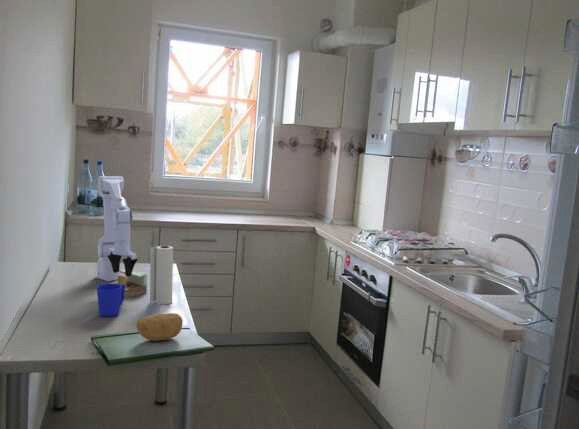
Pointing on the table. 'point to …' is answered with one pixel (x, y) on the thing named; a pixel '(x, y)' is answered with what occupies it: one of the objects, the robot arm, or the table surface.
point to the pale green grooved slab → (136, 278)
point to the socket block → (133, 289)
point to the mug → (110, 299)
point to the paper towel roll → (161, 274)
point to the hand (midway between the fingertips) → (122, 274)
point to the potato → (160, 326)
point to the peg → (122, 279)
